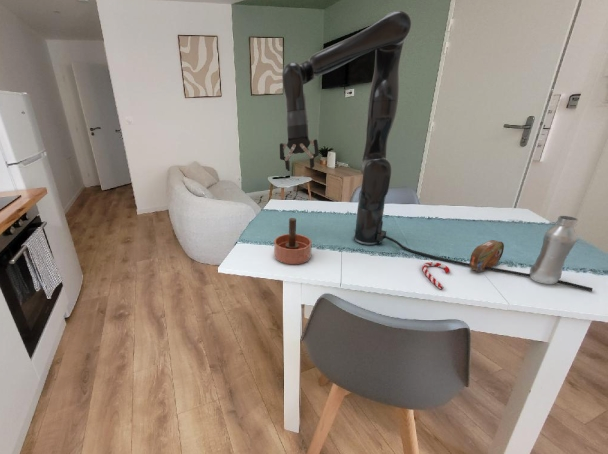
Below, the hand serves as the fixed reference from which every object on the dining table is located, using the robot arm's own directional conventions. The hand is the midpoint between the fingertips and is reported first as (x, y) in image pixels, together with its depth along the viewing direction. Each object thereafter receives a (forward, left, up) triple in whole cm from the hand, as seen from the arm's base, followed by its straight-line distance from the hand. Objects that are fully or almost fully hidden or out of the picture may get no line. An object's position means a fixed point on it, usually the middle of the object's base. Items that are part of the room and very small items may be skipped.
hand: (300, 169), depth 109 cm
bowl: (0, +16, -29) cm, 33 cm away
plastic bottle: (-74, +13, -29) cm, 81 cm away
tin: (-61, +8, -29) cm, 68 cm away
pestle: (0, +16, -28) cm, 32 cm away
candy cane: (-46, +18, -29) cm, 57 cm away
